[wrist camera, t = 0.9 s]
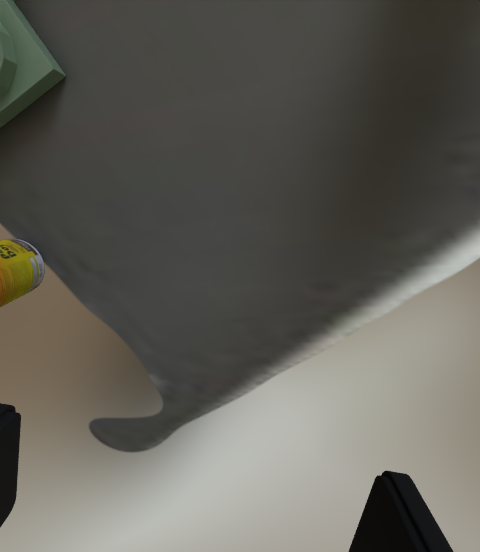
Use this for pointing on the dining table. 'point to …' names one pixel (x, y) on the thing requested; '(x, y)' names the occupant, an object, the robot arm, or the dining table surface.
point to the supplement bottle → (18, 269)
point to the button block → (22, 63)
